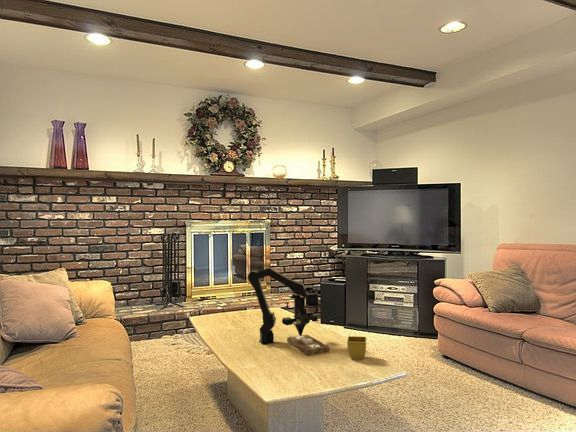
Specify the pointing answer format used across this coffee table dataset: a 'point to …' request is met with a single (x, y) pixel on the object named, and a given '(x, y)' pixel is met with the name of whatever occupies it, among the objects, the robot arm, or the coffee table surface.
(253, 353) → the coffee table surface
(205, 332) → the coffee table surface
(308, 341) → the button two
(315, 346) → the button three
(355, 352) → the flower pot
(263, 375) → the coffee table surface
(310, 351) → the button panel
